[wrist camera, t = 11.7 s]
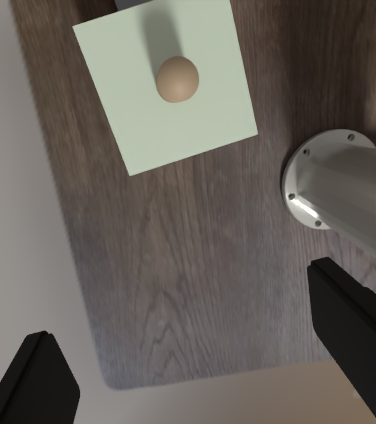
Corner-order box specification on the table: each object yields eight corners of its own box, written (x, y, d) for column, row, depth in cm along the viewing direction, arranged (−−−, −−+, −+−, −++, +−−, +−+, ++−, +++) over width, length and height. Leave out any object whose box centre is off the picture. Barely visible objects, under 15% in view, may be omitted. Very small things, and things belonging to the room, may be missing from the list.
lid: (221, -18, 25) (244, -58, 19) (254, 133, 30) (281, 139, 24) (75, 29, 25) (51, 4, 19) (130, 173, 30) (124, 190, 24)
